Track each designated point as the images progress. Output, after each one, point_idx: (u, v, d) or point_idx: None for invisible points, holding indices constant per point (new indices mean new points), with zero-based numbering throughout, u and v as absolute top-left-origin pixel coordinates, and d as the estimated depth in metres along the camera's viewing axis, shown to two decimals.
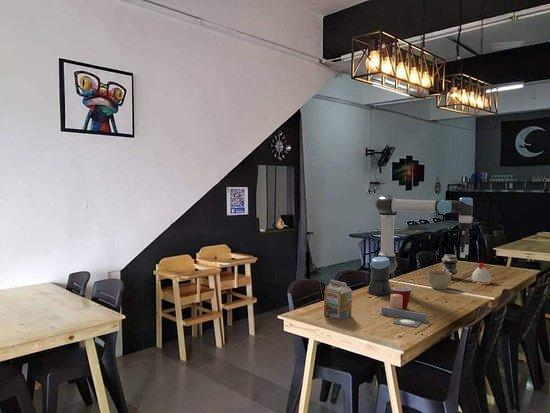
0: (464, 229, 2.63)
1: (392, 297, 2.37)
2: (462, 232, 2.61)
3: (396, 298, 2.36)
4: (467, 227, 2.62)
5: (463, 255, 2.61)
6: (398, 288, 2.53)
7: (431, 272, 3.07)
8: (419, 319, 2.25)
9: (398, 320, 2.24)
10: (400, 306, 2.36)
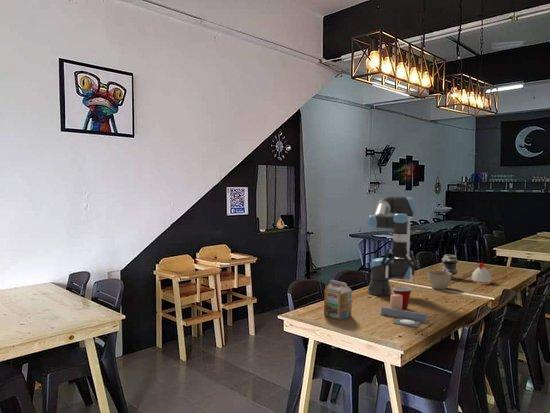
0: None
1: (392, 297, 2.37)
2: None
3: (396, 298, 2.36)
4: (393, 246, 2.38)
5: None
6: (398, 288, 2.53)
7: (431, 272, 3.07)
8: (419, 319, 2.25)
9: (398, 320, 2.24)
10: (400, 306, 2.36)
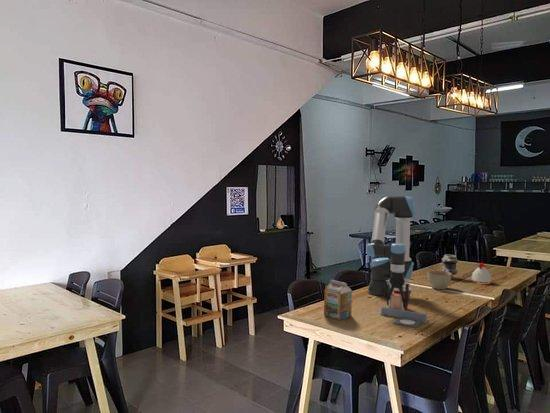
0: None
1: (392, 297, 2.37)
2: None
3: (396, 298, 2.36)
4: (390, 276, 2.39)
5: None
6: (398, 288, 2.53)
7: (431, 272, 3.07)
8: (419, 319, 2.25)
9: (398, 320, 2.24)
10: (400, 306, 2.36)
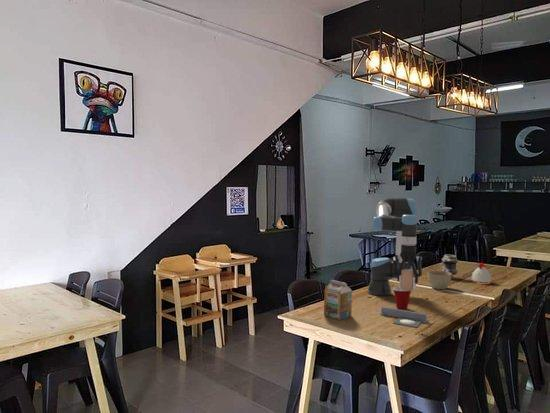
0: None
1: (403, 272, 2.20)
2: None
3: (407, 273, 2.19)
4: (401, 250, 2.22)
5: None
6: (398, 288, 2.53)
7: (431, 272, 3.07)
8: (419, 319, 2.25)
9: (398, 320, 2.24)
10: (412, 281, 2.19)
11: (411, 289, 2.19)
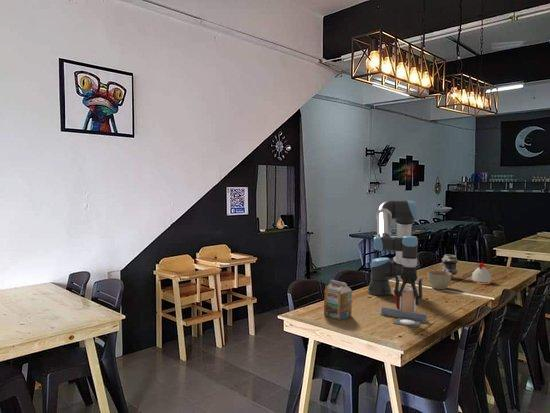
0: None
1: (404, 293, 2.20)
2: None
3: (408, 295, 2.18)
4: (401, 271, 2.21)
5: None
6: None
7: (431, 272, 3.07)
8: (419, 319, 2.25)
9: (398, 320, 2.24)
10: (412, 303, 2.19)
11: (412, 311, 2.19)
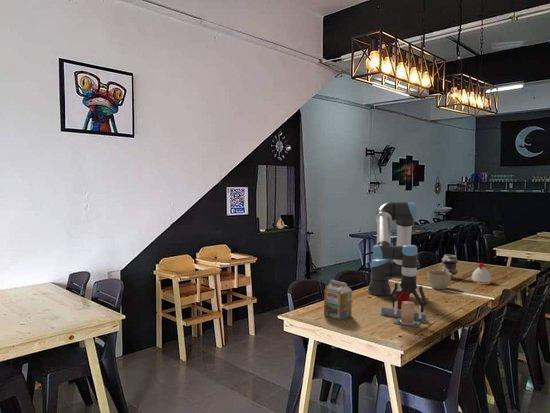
0: None
1: (403, 305, 2.20)
2: None
3: (408, 306, 2.19)
4: (401, 280, 2.21)
5: None
6: (398, 288, 2.53)
7: (431, 272, 3.07)
8: (419, 319, 2.25)
9: (398, 320, 2.24)
10: (412, 315, 2.19)
11: (411, 322, 2.19)
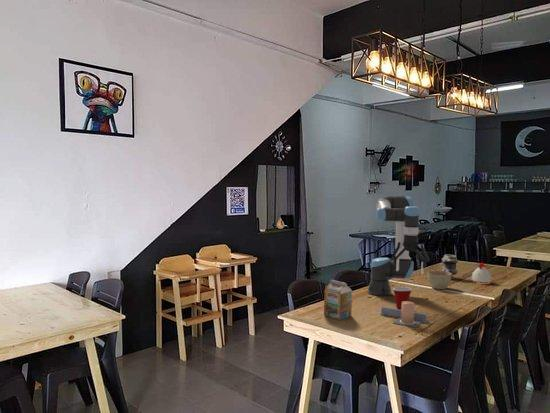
0: None
1: (403, 305, 2.20)
2: None
3: (408, 306, 2.19)
4: (404, 239, 2.36)
5: None
6: (398, 288, 2.53)
7: (431, 272, 3.07)
8: (419, 319, 2.25)
9: (398, 320, 2.24)
10: (412, 315, 2.19)
11: (411, 322, 2.19)
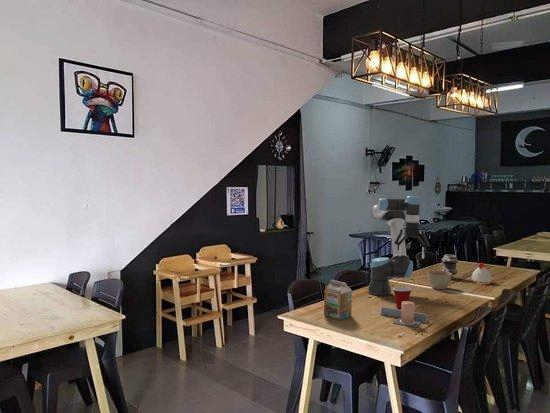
0: None
1: (403, 305, 2.20)
2: None
3: (408, 306, 2.19)
4: (406, 226, 2.55)
5: None
6: (398, 288, 2.53)
7: (431, 272, 3.07)
8: (419, 319, 2.25)
9: (398, 320, 2.24)
10: (412, 314, 2.19)
11: (411, 322, 2.19)
